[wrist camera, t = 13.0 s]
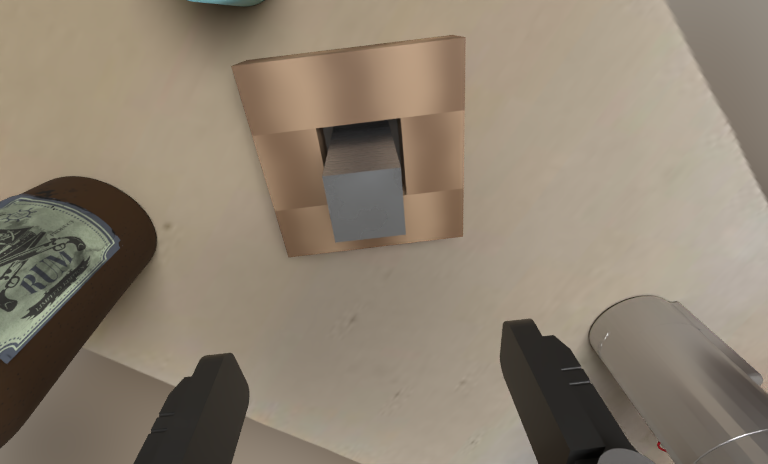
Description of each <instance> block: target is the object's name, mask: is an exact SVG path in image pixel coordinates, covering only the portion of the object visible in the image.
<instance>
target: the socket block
mask: <svg viewBox="0 0 768 464" xmlns="http://www.w3.org/2000/svg"><path fill="white" fill-rule="evenodd" d="M465 38H466V37H461V36H455V35H449V36H441V37H432V38H424V39H416V40H408V41H400V42H392V43H383V44H375V45H367V46H359V47H351V48H343V49H335V50H326V51H318V52H310V53H302V54H294V55H286V56H277V57H269V58H261V59H253V60H246V61H244V62H241V63H238V64H236V65H233V66H231V67H232V70H233V74H234V77H235V80H236V84H237V87H238V90H239V94H240V97H241V100H242V104H243V107H244V110H245V114H246V117H247V120H248V124H249V127H250V130H251V133H252V137H253V140H254V143H255V147H256V150H257V153H258V157H259V160H260V163H261V167H262V170H263V173H264V177H265V180H266V183H267V187H268V190H269V193H270V197H271V200H272V203H273V207H274V210H275V213H276V217H277V220H278V223H279V227H280V230H281V233H282V237H283V240H284V243H285V247H286V250H287V253H288V257H296V256H305V255H313V254H321V253H330V252H338V251H346V250H355V249H363V248H371V247H379V246H388V245H396V244H404V243H413V242H421V241H429V240H438V239H446V238H454V237H463V189H464V113H465ZM380 120H388V123H389V127H390V130H391V134H392V137H393V141H394V145H395V148H396V152H397V155H398V159H399V163H400V166H401V176H402V190H403V203H404V216H405V229H406V235H398V236H389V237H381V238H372V239H363V240H354V241H345V242H337V243H335V239H334V234H333V229H332V224H331V219H330V214H329V209H328V204H327V199H326V194H325V189H324V184H323V179H322V174H323V170H324V166H325V162H326V158H327V153H328V149H329V145H330V141H331V137H332V133H333V128H334V126H339V125H347V124H355V123H364V122H372V121H380Z"/></svg>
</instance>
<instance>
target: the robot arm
mask: <svg viewBox="0 0 768 464" xmlns="http://www.w3.org/2000/svg"><path fill="white" fill-rule="evenodd" d="M589 339H590V343H591V345H592V347H593V348H594V350H595V351H596V352H597V354H598V356H599V357H600V359H601V360H602V361H603V362H604V364H605V365H606V367H607V368H608V369H609V371H610V372H611V374H612V375H613V377H614V378H615V380H616V381H617V382H618V384H619V385H620V387H621V388H622V389H623V391H624V392H625V394H626V395H627V396H628V398H629V399H630V401H631V402H632V404H633V405H634V406H635V408H636V409H637V411H638V412H639V413H640V415H641V416H642V418H643V419H644V420H645V422H646V423H647V425H648V426H649V428H650V429H651V430H652V432H653V433H654V435H655V436H656V437H657V439H658V440H659V442H660V443H661V444H662V446H663V447H664V449H665V450H666V451H667V453H668V454H669V456H670V457H671V459H672V460H673V461H674V463H675V464H768V393H767V392H766V391H765V390H763V389H762V388H761V387H760V385H761V384H762V382H763V378H762V376H761V375H760V373H758V372H757V371H756V370H755V369H754V368H753V367H752V366H751V365H749V364H748V363H747V362H746V361H745V360H744V359H743V358H742V357H740V356H739V355H738V354H737V353H736V352H735V351H734V350H732V349H731V348H730V347H729V346H728V345H727V344H726V343H725V342H723V341H722V340H721V339H720V338H719V337H718V336H717V335H716V334H714V333H713V332H712V331H711V330H710V329H709V328H708V327H707V326H705V325H704V324H703V323H702V322H701V321H700V320H699V319H698V318H696V317H695V316H694V315H693V314H692V313H691V312H690V311H689V310H687V309H686V308H685V307H684V306H683V305H682V304H681V303H680V302H674V303H671V302H668V301H666V300H664V299H663V298H659V297H656V296H641V297H635V298H632V299H628V300H625V301H623V302H621V303H618V304H617V305H615V306H613V307H611V308H610V309H608V310H607V311H606V312H604V313H603V314H602V315H601V316H600V317H599V318H598V319H597V320H596V322H595V323H594V325H593V326H592V328H591V331H590V336H589ZM500 363H501V369H502V373H503V376H504V379H505V381H506V384H507V386H508V389H509V391H510V394H511V396H512V399H513V401H514V404H515V406H516V409H517V411H518V414H519V416H520V419H521V421H522V424H523V426H524V429H525V431H526V434H527V436H528V439H529V441H530V444H531V446H532V449H533V451H534V454H535V456H536V459H537V461H538V464H655V463H654V462H653V461H651V460H650V459H648V458H647V457H645V456H643V455H641V454H640V453H639V452H637V451H636V449H635V448H634V447H633V446H632V445H631V443H630V442H629V441H628V439H627V438H626V436H625V435H624V433H623V431H622V430H621V428H620V427H619V425H618V424H617V422H616V420H615V419H614V417H613V416H612V414H611V413H610V411H609V409H608V408H607V406H606V405H605V403H604V402H603V400H602V398H601V397H600V395H599V394H598V392H597V391H596V389H595V387H594V386H593V384H591V383H590V380H589V378H588V376H587V375H586V373H585V372H584V370H583V369H581V365H580V364H579V362H578V361H577V359H576V358H575V356H574V354H573V353H572V351H571V350H570V348H568V347H567V346H566V345H565V344H563V343H562V342H561V341H560V340H559V339H557V338H556V337H555V336H554V335H551V336H542V335H541V333H540V331H539V330H538V328H537V326H536V324H535V323H534V321H533V320H532V319H522V320H514V321H505V322H504V323H503V329H502V339H501V350H500ZM248 404H249V387H248V384H247V382H246V379H245V377H244V375H243V373H242V371H241V369H240V367H239V365H238V363H237V361H236V359H235V357H234V355H233V354H232V353H224V354H216V355H207V356H204V357H202V358H201V359H200V361H199V363H198V365H197V367H196V369H195V371H194V373H193V375H192V377H184V379H183V380H182V381H181V382H180V383H179V384H178V385H177V386H176V387H175V388H174V390H173V391H172V392H171V393H170V394H169V396H168V398H167V400H166V401H165V403H164V406H163V407H162V409H161V411H160V413H159V418H157V419H156V421H155V423H154V425H153V427H152V429H151V434H149V435H148V437H147V439H146V440H145V442H144V444H143V447H142V449H141V450H140V452H139V454H138V456H137V458H136V460H135V462H134V464H231V463H232V460H233V456H234V453H235V449H236V446H237V442H238V439H239V436H240V432H241V429H242V425H243V422H244V418H245V415H246V412H247V408H248Z"/></svg>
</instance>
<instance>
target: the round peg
mask: <svg viewBox="0 0 768 464" xmlns="http://www.w3.org/2000/svg"><path fill="white" fill-rule="evenodd" d="M188 1H193V2H203V3H212V4H222V5H232V6H242V7H244V6H252V5H256V4H259V3H261V2H263V1H264V0H188Z"/></svg>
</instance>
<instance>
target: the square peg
mask: <svg viewBox="0 0 768 464" xmlns="http://www.w3.org/2000/svg"><path fill="white" fill-rule="evenodd" d="M322 179H323V184H324V189H325V194H326V199H327V204H328V209H329V214H330V219H331V224H332V229H333V234H334V239H335V243H337V242H345V241H354V240H363V239H372V238H381V237H389V236H398V235H406V229H405V216H404V203H403V190H402V176H401V166H400V163H399V159H398V155H397V152H396V148H395V145H394V141H393V137H392V134H391V130H390V127H389V123H388V120H380V121H372V122H364V123H355V124H347V125H339V126H334V128H333V133H332V137H331V141H330V145H329V149H328V153H327V158H326V162H325V166H324V170H323V174H322Z"/></svg>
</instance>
